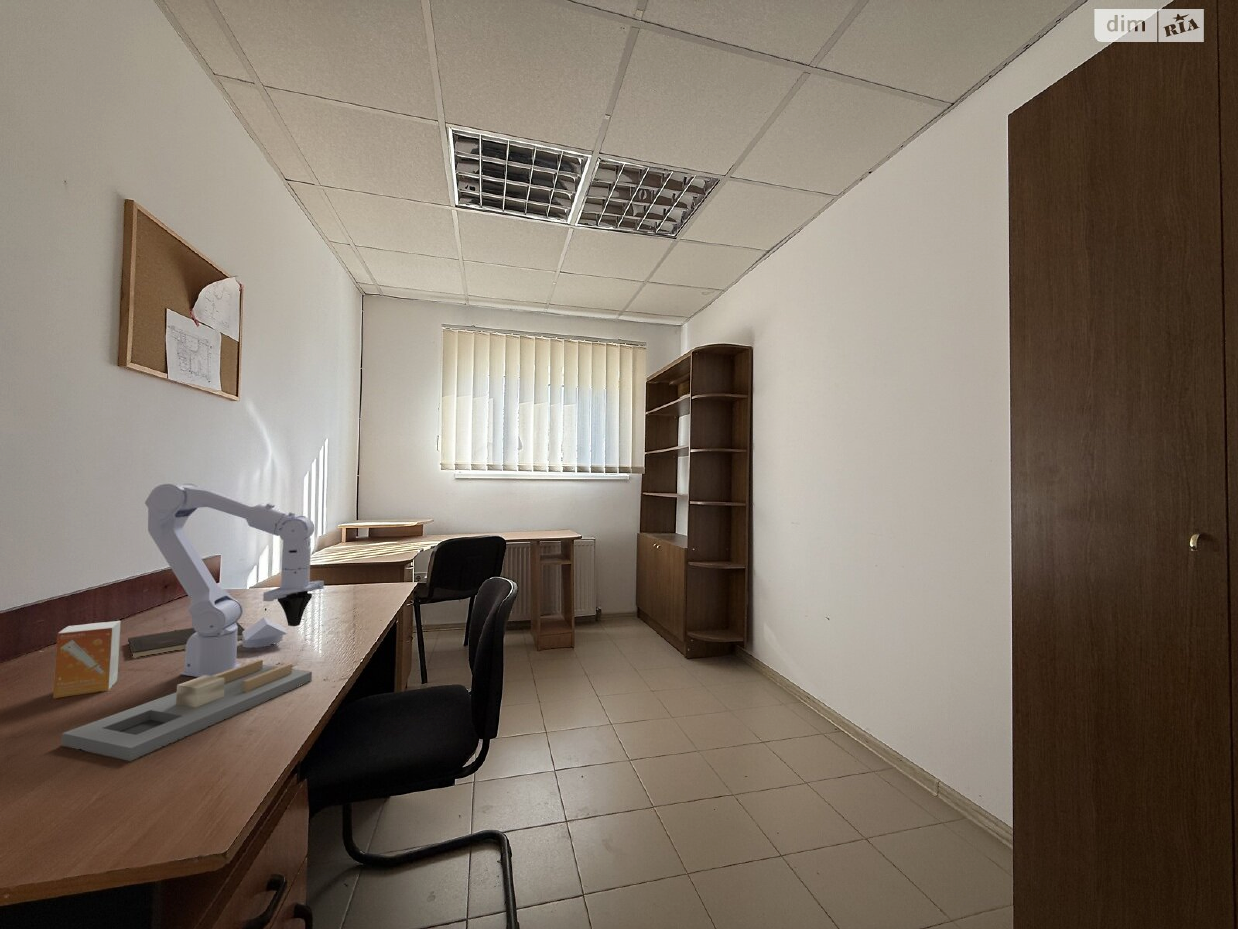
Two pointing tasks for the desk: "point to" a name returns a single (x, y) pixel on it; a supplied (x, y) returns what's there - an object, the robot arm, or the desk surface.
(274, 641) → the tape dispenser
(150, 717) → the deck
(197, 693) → the wooden block
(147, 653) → the hardcover book
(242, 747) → the desk surface
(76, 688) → the small box
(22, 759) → the desk surface
